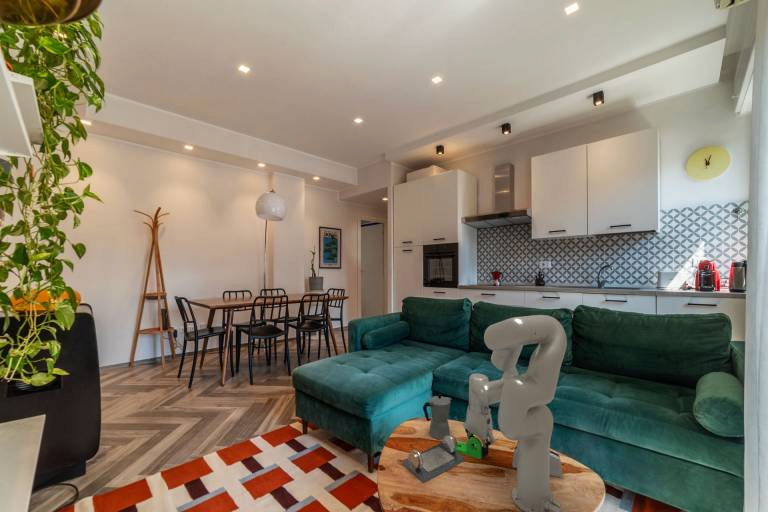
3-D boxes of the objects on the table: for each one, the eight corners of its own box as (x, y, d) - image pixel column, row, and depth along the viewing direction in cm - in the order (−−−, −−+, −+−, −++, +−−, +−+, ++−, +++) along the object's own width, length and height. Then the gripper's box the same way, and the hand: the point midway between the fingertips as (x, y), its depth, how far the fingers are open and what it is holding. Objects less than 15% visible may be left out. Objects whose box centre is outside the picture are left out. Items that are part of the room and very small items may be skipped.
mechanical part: (484, 454, 131) (484, 434, 131) (480, 462, 126) (480, 441, 126) (456, 445, 138) (456, 426, 137) (451, 452, 132) (451, 432, 132)
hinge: (560, 472, 119) (561, 446, 118) (563, 482, 115) (563, 456, 114) (511, 462, 125) (512, 437, 124) (512, 471, 121) (512, 446, 119)
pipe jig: (442, 445, 135) (442, 428, 135) (464, 461, 125) (464, 441, 125) (402, 464, 123) (402, 444, 123) (423, 482, 113) (423, 461, 113)
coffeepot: (444, 425, 151) (445, 387, 151) (458, 435, 143) (458, 394, 143) (417, 434, 144) (417, 393, 144) (429, 445, 136) (429, 402, 136)
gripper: (503, 412, 124) (502, 459, 125) (467, 395, 138) (467, 437, 139) (490, 418, 120) (490, 466, 120) (455, 400, 134) (455, 443, 134)
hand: (478, 450), depth 129 cm, fingers open, 5 cm apart
